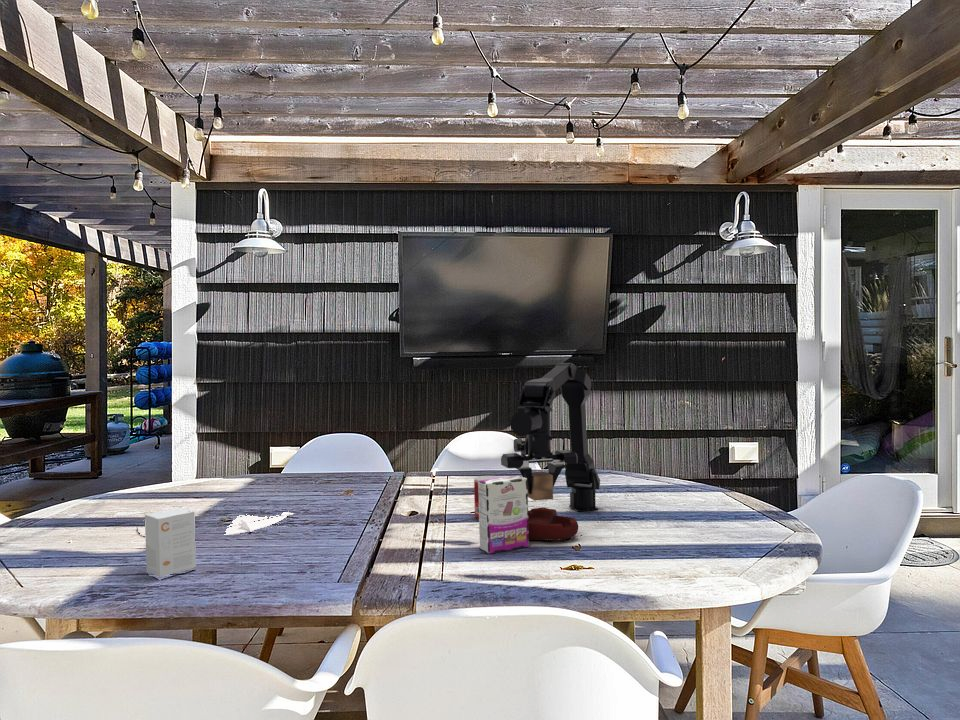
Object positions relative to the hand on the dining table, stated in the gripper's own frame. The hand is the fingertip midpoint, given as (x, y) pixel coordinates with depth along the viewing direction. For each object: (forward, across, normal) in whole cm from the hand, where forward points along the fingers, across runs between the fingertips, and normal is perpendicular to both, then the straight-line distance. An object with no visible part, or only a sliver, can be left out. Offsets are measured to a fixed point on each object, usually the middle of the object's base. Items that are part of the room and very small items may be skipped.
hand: (539, 492), depth 164 cm
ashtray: (+11, +1, 0) cm, 11 cm away
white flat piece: (+11, +80, -43) cm, 92 cm away
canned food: (+11, +7, -21) cm, 25 cm away
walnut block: (+1, 0, 0) cm, 1 cm away
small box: (+11, +85, 0) cm, 86 cm away
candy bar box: (+11, +12, +7) cm, 18 cm away
